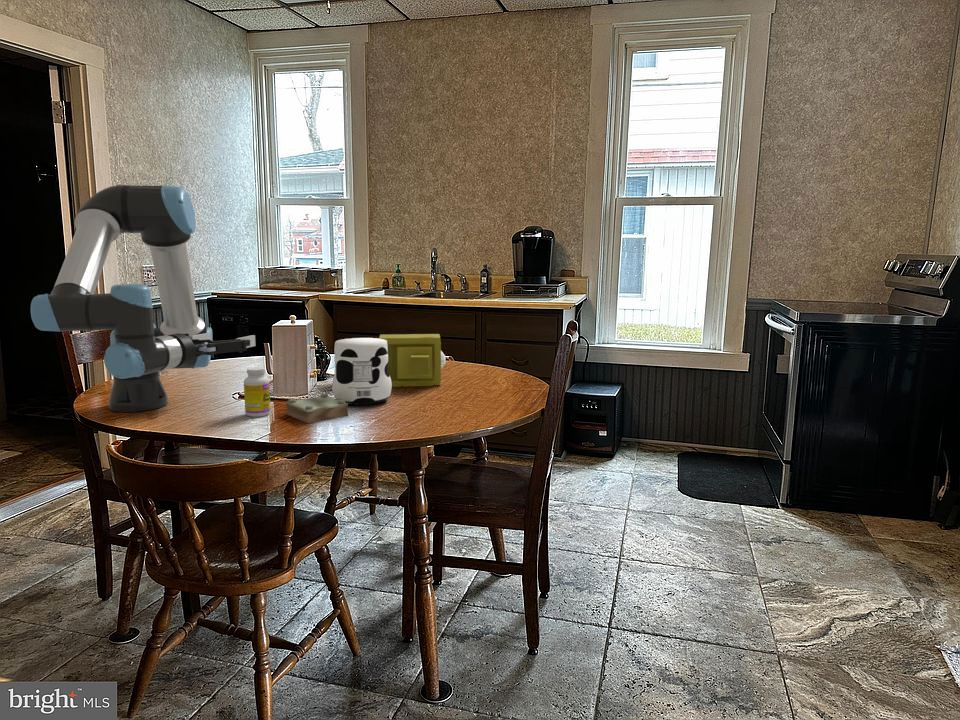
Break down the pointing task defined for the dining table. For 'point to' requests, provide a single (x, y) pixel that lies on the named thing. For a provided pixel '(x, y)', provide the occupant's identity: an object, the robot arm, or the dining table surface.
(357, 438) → the dining table surface
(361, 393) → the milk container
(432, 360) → the olive green rectangular box
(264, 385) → the supplement bottle
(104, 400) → the dining table surface
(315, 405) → the base plate
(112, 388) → the robot arm
